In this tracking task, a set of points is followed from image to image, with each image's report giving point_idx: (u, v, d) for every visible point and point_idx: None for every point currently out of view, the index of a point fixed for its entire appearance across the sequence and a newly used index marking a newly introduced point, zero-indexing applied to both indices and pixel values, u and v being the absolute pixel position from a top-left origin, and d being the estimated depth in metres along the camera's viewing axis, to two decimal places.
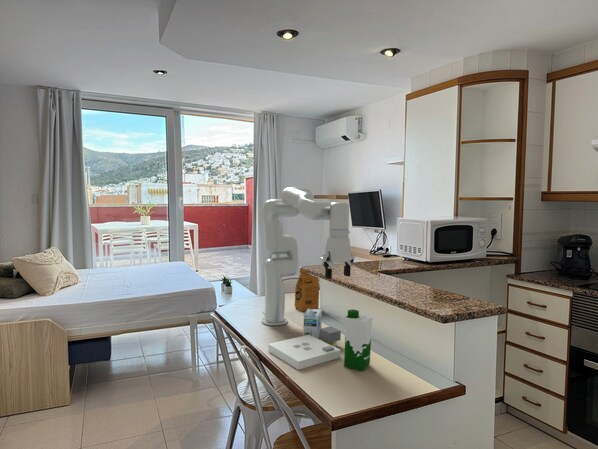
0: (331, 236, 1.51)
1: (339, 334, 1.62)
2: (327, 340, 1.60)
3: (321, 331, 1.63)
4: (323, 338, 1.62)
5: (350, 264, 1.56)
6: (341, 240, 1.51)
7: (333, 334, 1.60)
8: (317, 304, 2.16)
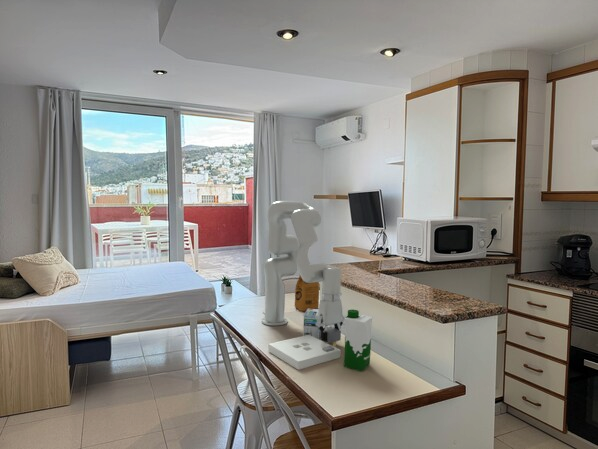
0: (324, 300, 1.60)
1: (339, 334, 1.62)
2: (327, 340, 1.60)
3: None
4: None
5: (339, 327, 1.64)
6: (333, 304, 1.60)
7: (334, 334, 1.60)
8: (317, 304, 2.16)
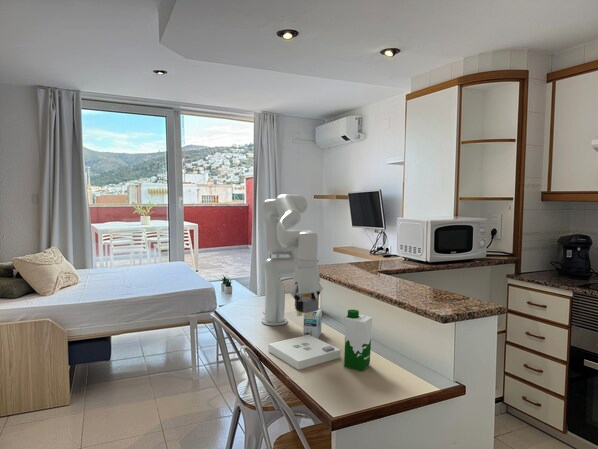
0: (299, 266, 1.49)
1: (316, 304, 1.51)
2: (303, 310, 1.49)
3: None
4: None
5: (316, 297, 1.53)
6: (309, 271, 1.49)
7: (310, 303, 1.49)
8: None
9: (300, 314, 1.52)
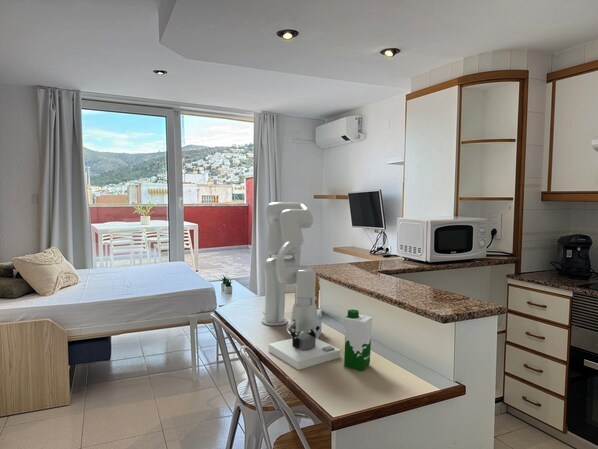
0: (297, 304, 1.49)
1: (314, 341, 1.51)
2: (300, 348, 1.49)
3: None
4: None
5: (315, 332, 1.54)
6: (307, 308, 1.49)
7: (307, 341, 1.49)
8: (317, 304, 2.16)
9: None
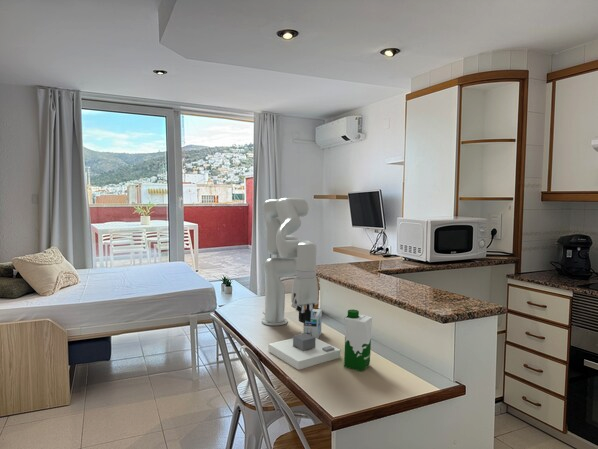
0: (297, 277, 1.49)
1: (314, 341, 1.51)
2: (300, 348, 1.49)
3: (294, 338, 1.52)
4: (296, 346, 1.51)
5: (311, 309, 1.52)
6: (308, 282, 1.48)
7: (307, 341, 1.49)
8: (317, 304, 2.16)
9: None
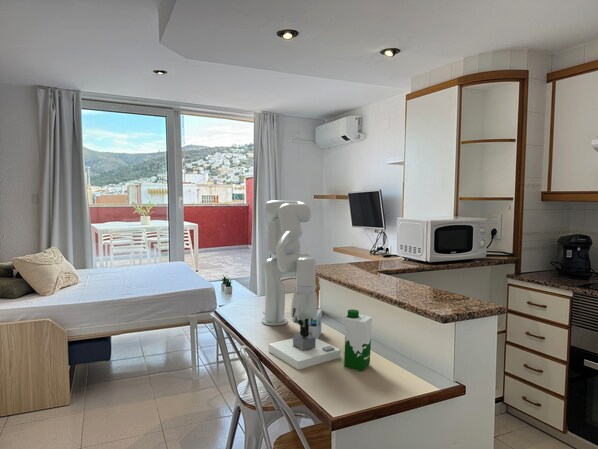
0: (297, 292, 1.49)
1: (314, 341, 1.51)
2: (300, 348, 1.49)
3: (294, 338, 1.52)
4: (296, 346, 1.51)
5: (309, 323, 1.52)
6: (307, 297, 1.49)
7: (307, 341, 1.49)
8: None
9: None
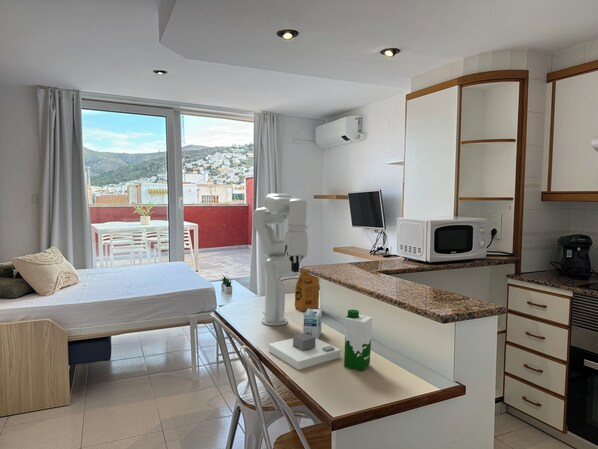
0: (289, 231, 1.63)
1: (314, 341, 1.51)
2: (300, 348, 1.49)
3: (294, 338, 1.52)
4: (296, 346, 1.51)
5: (299, 260, 1.66)
6: (298, 235, 1.62)
7: (307, 341, 1.49)
8: (317, 304, 2.16)
9: None
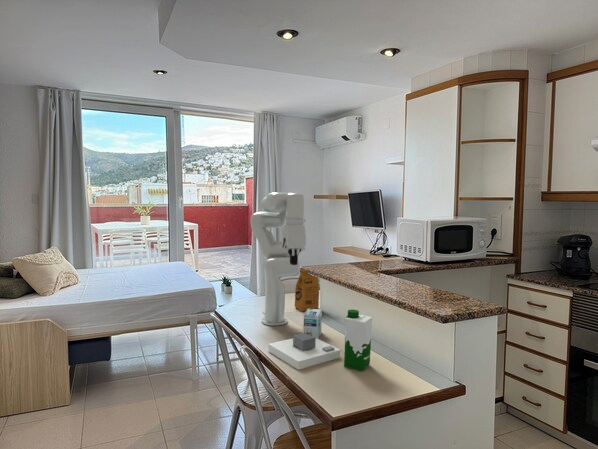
0: (287, 224, 1.66)
1: (314, 341, 1.51)
2: (300, 348, 1.49)
3: (294, 338, 1.52)
4: (296, 346, 1.51)
5: (297, 253, 1.69)
6: (296, 228, 1.66)
7: (307, 341, 1.49)
8: (317, 304, 2.16)
9: None
